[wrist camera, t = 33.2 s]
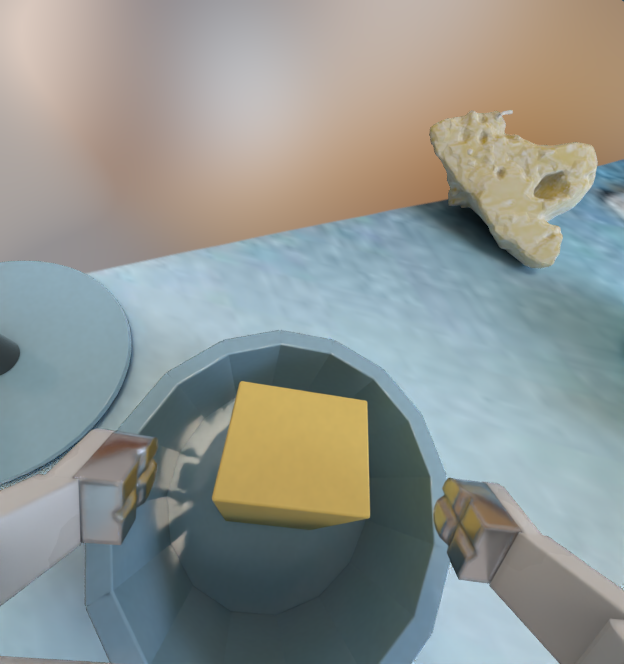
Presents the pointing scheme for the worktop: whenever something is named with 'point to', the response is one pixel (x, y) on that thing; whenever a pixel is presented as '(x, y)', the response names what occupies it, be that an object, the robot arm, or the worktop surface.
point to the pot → (271, 529)
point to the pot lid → (55, 360)
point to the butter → (294, 459)
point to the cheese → (513, 182)
